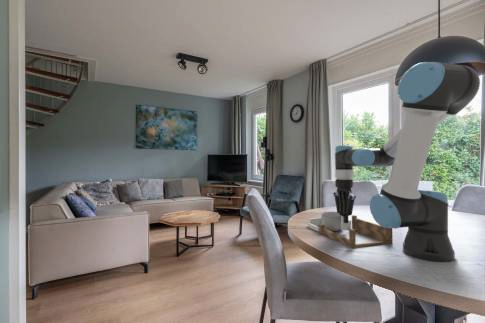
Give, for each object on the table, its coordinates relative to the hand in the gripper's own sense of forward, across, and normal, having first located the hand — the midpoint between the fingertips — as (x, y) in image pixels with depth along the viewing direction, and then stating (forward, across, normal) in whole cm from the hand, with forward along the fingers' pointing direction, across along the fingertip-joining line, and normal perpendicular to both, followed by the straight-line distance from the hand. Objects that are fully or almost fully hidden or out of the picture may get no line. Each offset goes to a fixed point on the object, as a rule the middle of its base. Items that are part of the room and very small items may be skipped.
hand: (344, 229), depth 117 cm
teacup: (+2, +10, 0) cm, 10 cm away
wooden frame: (+2, -6, 0) cm, 6 cm away
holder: (+2, +12, 0) cm, 12 cm away
